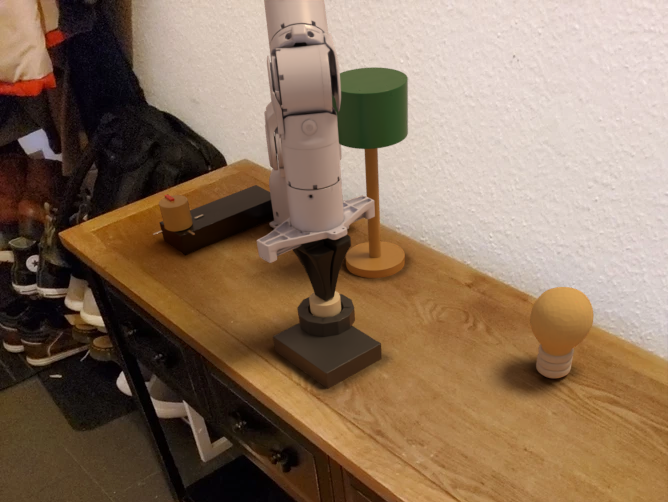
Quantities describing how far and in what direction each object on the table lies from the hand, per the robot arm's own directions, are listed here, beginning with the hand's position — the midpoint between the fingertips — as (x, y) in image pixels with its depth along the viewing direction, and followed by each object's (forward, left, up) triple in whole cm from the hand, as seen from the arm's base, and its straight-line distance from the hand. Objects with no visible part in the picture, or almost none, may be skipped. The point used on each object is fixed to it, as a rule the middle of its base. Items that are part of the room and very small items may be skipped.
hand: (324, 295), depth 85 cm
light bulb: (+23, +14, -6) cm, 27 cm away
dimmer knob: (-33, 0, -3) cm, 33 cm away
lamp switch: (0, 0, -2) cm, 2 cm away
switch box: (+2, -2, -6) cm, 6 cm away
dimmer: (-33, +5, -6) cm, 34 cm away
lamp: (-9, +16, -6) cm, 19 cm away
